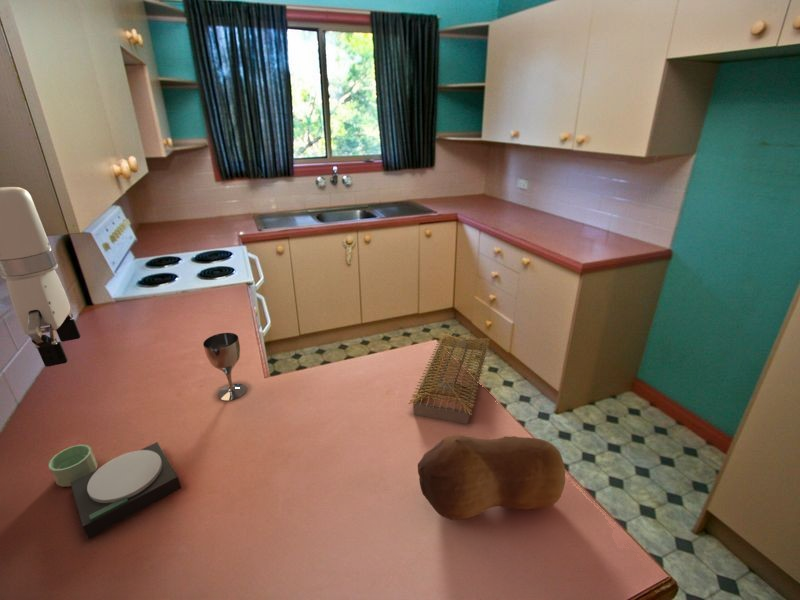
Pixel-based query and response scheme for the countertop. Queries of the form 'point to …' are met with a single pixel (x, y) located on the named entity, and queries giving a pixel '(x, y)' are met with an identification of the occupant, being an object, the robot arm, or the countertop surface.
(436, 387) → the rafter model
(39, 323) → the robot arm
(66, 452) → the bowl
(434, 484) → the butternut squash
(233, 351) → the wine glass
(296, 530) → the countertop surface
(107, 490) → the scale
